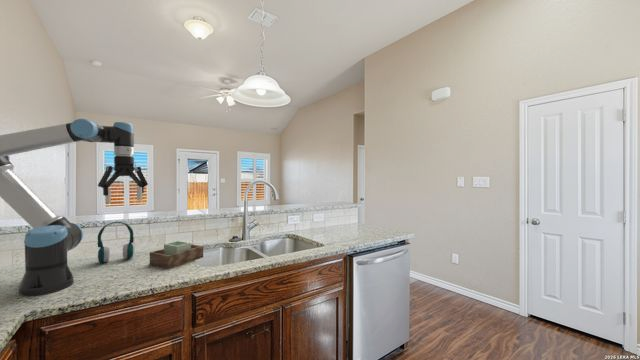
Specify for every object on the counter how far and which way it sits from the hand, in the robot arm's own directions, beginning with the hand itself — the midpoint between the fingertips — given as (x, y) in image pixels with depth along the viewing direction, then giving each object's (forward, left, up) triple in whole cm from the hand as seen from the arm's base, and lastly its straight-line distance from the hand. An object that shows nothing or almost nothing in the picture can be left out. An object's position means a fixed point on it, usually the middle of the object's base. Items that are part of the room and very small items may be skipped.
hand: (124, 201), depth 128 cm
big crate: (+19, -11, -32) cm, 39 cm away
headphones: (+5, +17, -32) cm, 37 cm away
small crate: (+19, -11, -31) cm, 38 cm away
